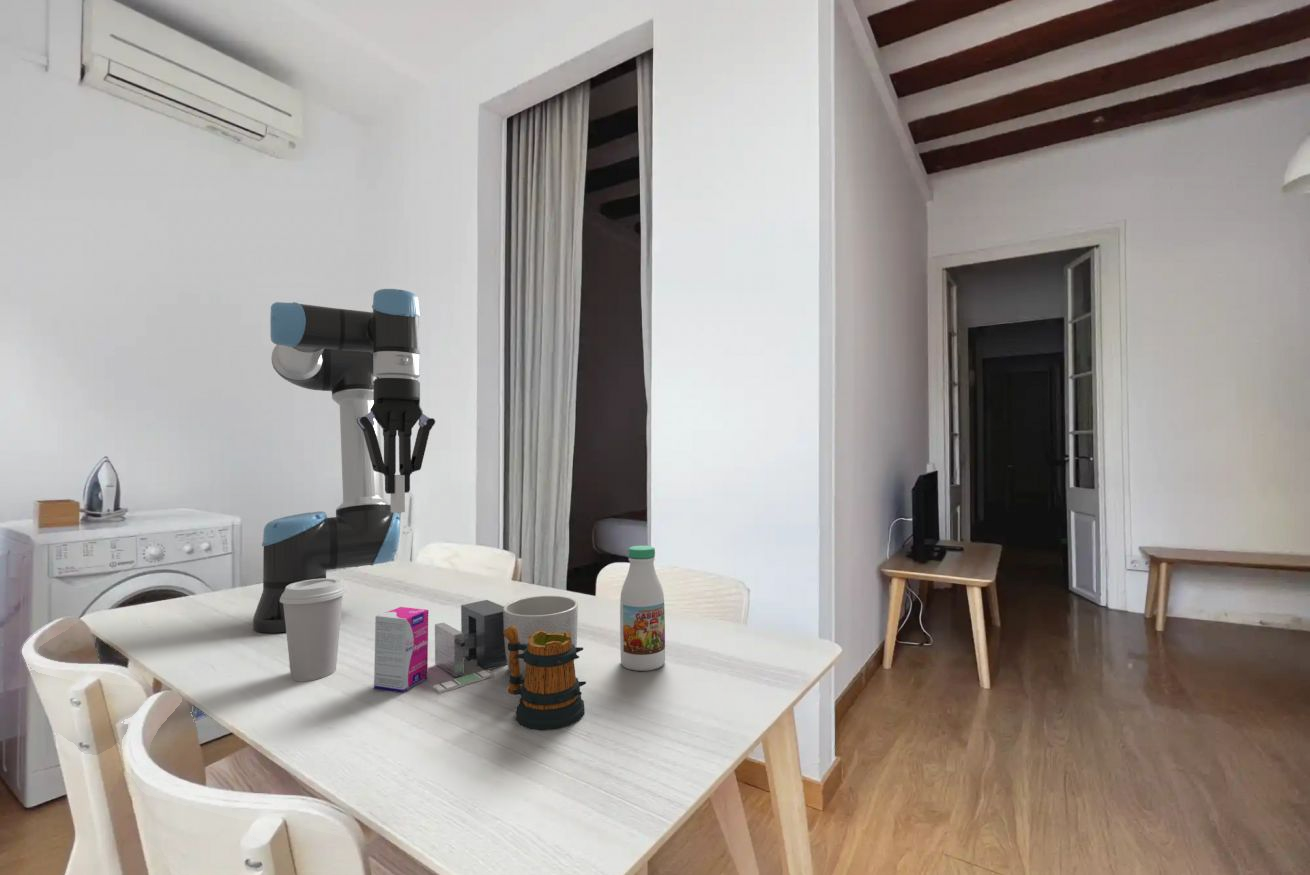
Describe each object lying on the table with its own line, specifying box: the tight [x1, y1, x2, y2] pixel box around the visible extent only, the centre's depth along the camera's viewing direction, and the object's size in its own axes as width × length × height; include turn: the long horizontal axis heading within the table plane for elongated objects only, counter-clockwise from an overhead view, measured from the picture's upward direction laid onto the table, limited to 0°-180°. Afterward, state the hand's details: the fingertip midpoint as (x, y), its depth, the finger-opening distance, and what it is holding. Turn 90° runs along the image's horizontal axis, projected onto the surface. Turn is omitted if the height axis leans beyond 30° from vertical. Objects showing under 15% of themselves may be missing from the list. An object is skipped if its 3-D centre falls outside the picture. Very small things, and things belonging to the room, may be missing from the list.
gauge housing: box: [460, 599, 508, 671], centre depth 100 cm, size 9×5×9 cm, turn 43°
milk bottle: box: [619, 545, 666, 672], centre depth 97 cm, size 8×8×20 cm
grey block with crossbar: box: [434, 622, 477, 677], centre depth 98 cm, size 10×12×7 cm
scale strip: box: [432, 669, 495, 694], centre depth 90 cm, size 2×9×1 cm, turn 133°
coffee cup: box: [280, 577, 347, 682], centre depth 95 cm, size 10×10×15 cm
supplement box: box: [373, 606, 429, 694], centre depth 90 cm, size 6×6×12 cm
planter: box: [503, 595, 579, 678], centre depth 95 cm, size 12×12×11 cm
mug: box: [503, 625, 587, 732], centre depth 80 cm, size 13×10×12 cm
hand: (397, 511), depth 100 cm, fingers closed
